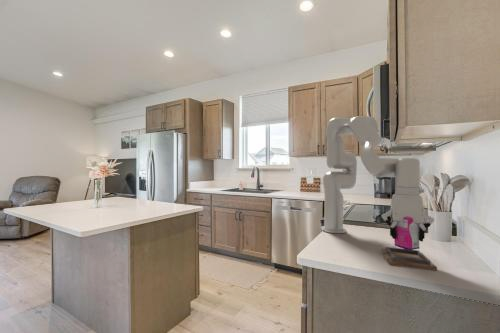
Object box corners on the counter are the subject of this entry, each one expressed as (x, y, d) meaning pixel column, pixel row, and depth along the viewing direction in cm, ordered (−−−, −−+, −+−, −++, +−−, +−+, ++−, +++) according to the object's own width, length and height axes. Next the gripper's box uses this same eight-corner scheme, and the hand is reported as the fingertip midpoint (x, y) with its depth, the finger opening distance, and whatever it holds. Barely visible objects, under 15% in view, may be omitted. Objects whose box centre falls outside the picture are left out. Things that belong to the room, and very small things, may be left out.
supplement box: (404, 243, 92) (404, 214, 92) (420, 248, 87) (420, 217, 87) (393, 245, 90) (393, 215, 90) (408, 250, 85) (409, 218, 85)
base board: (381, 251, 97) (381, 245, 97) (421, 256, 93) (421, 249, 93) (389, 264, 84) (389, 257, 84) (437, 270, 79) (437, 263, 79)
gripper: (431, 191, 89) (430, 238, 89) (378, 189, 95) (378, 234, 94) (439, 193, 82) (439, 245, 82) (382, 191, 87) (382, 239, 87)
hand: (406, 238), depth 88 cm, fingers closed on supplement box, 8 cm apart
